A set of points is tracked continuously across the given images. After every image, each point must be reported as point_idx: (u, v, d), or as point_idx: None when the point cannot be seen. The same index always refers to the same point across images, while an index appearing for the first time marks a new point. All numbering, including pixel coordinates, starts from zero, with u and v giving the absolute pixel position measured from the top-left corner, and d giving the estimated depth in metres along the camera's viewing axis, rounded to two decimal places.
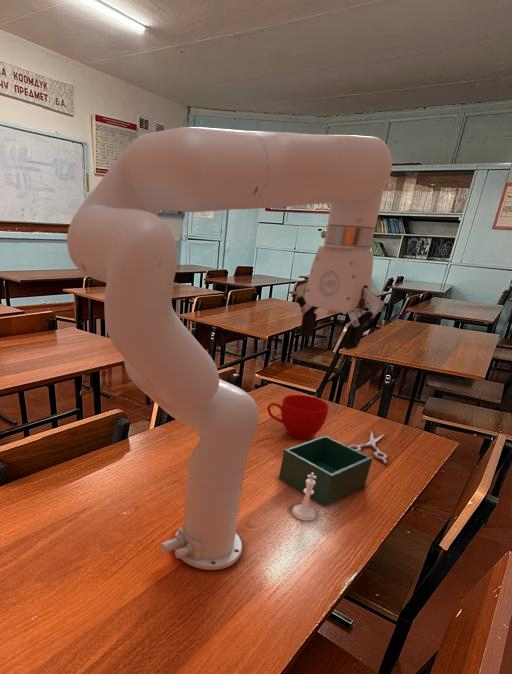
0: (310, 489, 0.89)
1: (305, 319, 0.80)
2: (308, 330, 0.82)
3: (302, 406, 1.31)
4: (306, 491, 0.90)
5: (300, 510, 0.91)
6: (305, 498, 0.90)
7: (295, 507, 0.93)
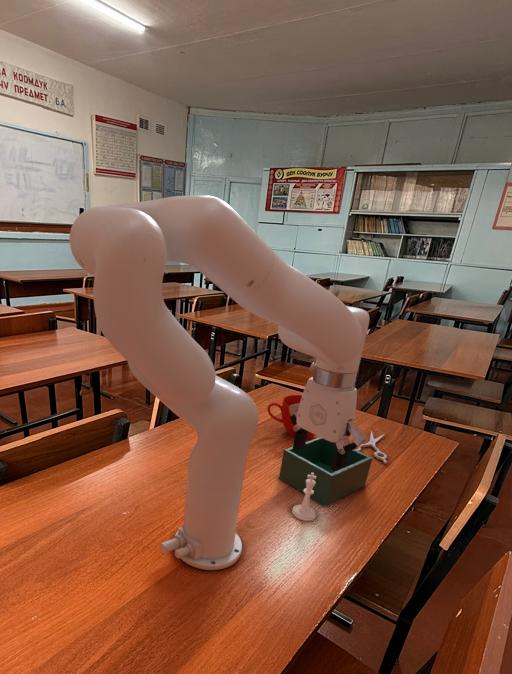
0: (310, 489, 0.89)
1: (297, 436, 0.88)
2: (300, 444, 0.90)
3: None
4: (306, 491, 0.90)
5: (300, 510, 0.91)
6: (305, 498, 0.90)
7: (295, 507, 0.93)
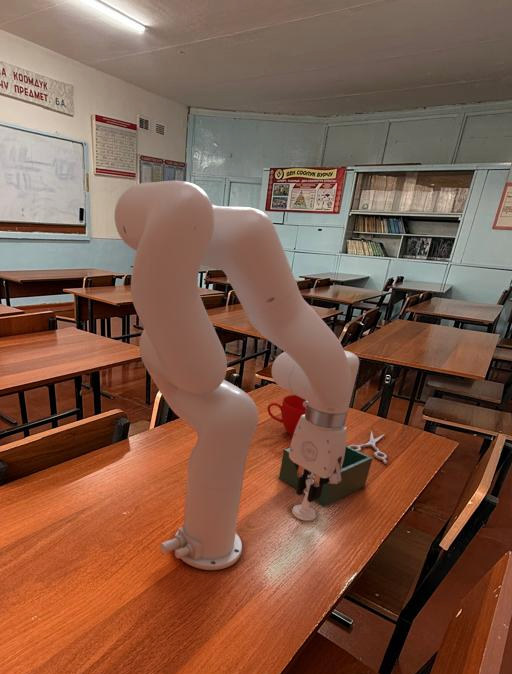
0: None
1: (301, 482, 0.89)
2: None
3: None
4: (306, 491, 0.90)
5: (300, 510, 0.91)
6: (305, 498, 0.90)
7: (295, 507, 0.93)
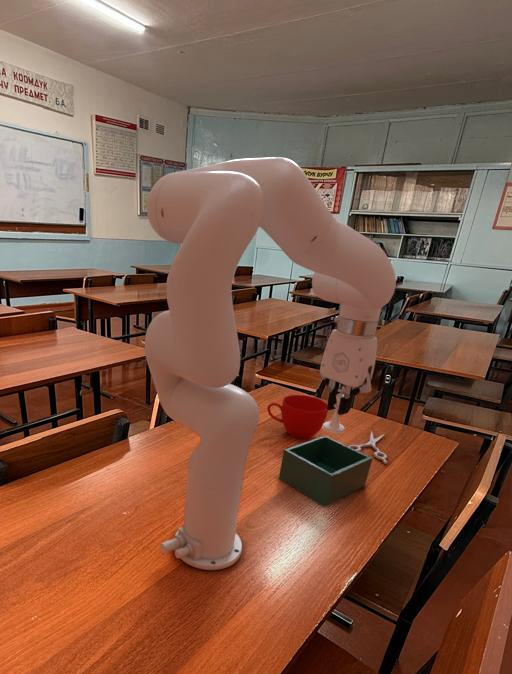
0: None
1: (331, 397, 0.94)
2: None
3: (303, 406, 1.31)
4: (336, 405, 0.94)
5: (330, 425, 0.96)
6: (335, 413, 0.95)
7: (325, 423, 0.97)
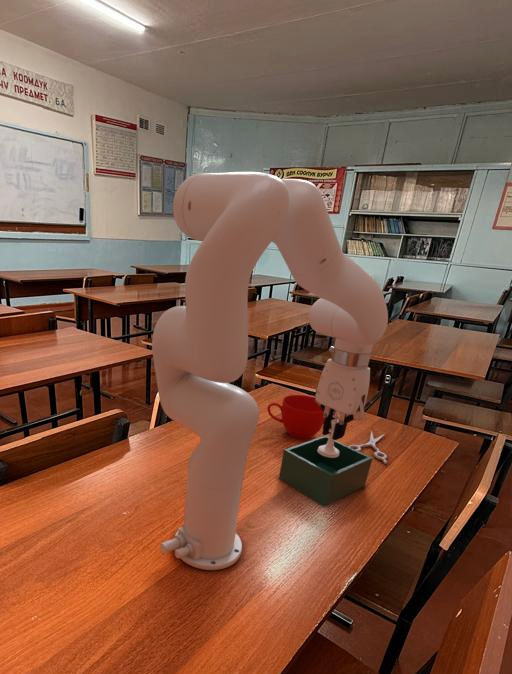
0: None
1: (327, 422, 0.98)
2: None
3: (303, 406, 1.31)
4: (331, 430, 0.98)
5: (325, 449, 1.00)
6: (330, 437, 0.99)
7: (320, 447, 1.02)
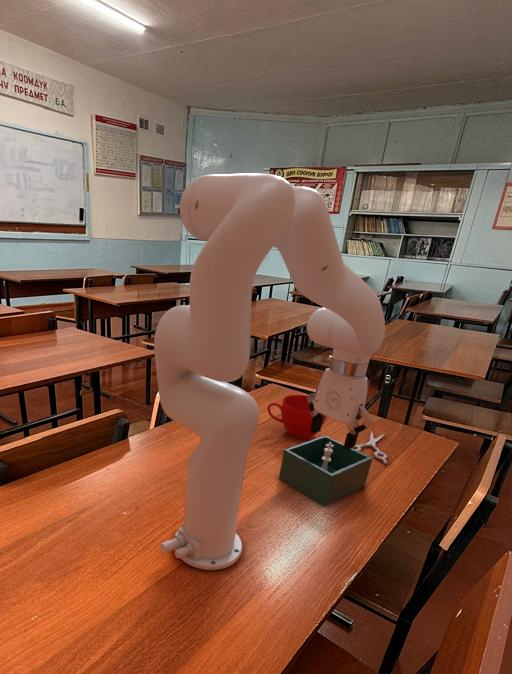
0: (328, 457, 1.01)
1: (314, 421, 1.01)
2: (316, 429, 1.02)
3: (303, 406, 1.31)
4: (324, 459, 1.01)
5: None
6: (323, 465, 1.02)
7: None
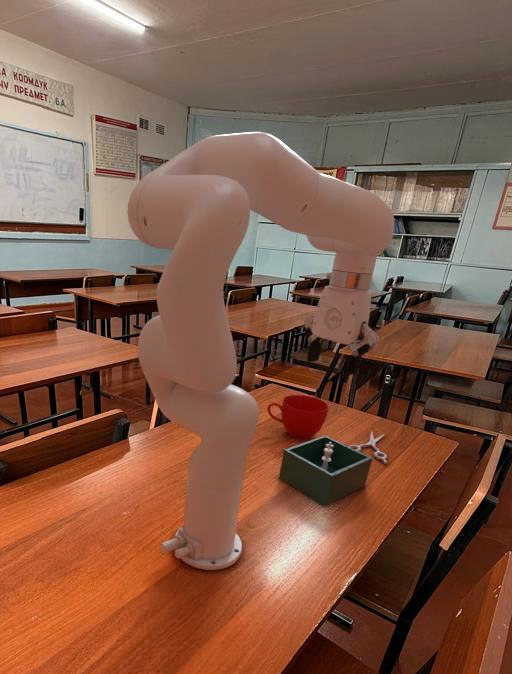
0: (328, 457, 1.01)
1: (311, 347, 0.92)
2: (314, 357, 0.94)
3: (302, 406, 1.31)
4: (324, 459, 1.01)
5: None
6: (323, 465, 1.02)
7: None
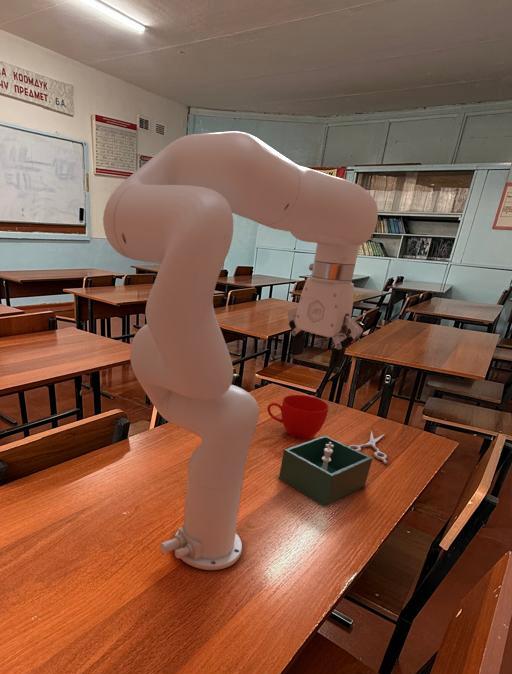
0: (328, 457, 1.01)
1: (295, 341, 0.90)
2: (298, 350, 0.92)
3: (302, 406, 1.31)
4: (324, 459, 1.01)
5: None
6: (323, 465, 1.02)
7: None
